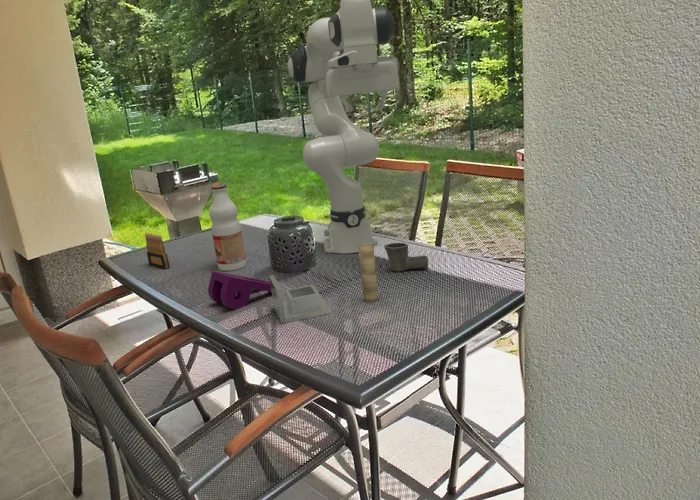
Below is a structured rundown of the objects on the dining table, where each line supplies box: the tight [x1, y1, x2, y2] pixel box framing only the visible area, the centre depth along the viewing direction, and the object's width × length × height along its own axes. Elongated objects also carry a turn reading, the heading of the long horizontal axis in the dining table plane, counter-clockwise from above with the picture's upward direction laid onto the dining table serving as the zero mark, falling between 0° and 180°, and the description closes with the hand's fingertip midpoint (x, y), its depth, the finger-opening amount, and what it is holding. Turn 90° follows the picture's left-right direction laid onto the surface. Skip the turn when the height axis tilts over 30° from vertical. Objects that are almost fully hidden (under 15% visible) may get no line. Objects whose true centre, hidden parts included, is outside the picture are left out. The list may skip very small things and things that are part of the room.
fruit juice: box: [208, 182, 247, 272], centre depth 197 cm, size 9×9×28 cm
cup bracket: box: [268, 274, 333, 324], centre depth 157 cm, size 12×13×9 cm
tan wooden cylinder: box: [358, 243, 379, 303], centre depth 158 cm, size 4×4×15 cm
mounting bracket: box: [207, 270, 271, 310], centre depth 170 cm, size 9×8×18 cm
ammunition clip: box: [144, 232, 171, 270], centre depth 208 cm, size 11×2×12 cm, turn 49°
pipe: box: [383, 242, 429, 272], centre depth 179 cm, size 6×13×8 cm, turn 78°
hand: (365, 110), depth 166 cm, fingers open, 8 cm apart
